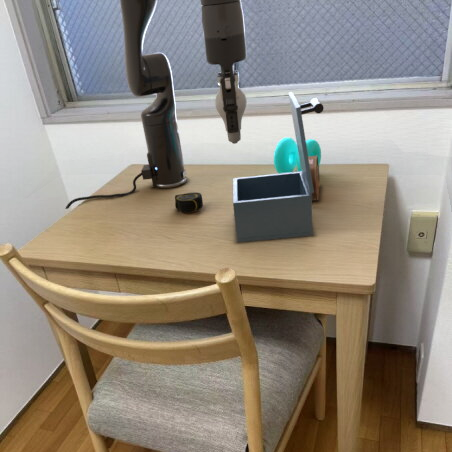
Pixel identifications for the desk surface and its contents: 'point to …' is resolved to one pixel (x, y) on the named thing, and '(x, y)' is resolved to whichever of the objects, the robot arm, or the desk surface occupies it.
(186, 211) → the tape measure
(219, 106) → the lightbulb
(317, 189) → the tin
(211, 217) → the desk surface
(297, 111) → the lid
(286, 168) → the turquoise spool
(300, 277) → the desk surface
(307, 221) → the compartment
